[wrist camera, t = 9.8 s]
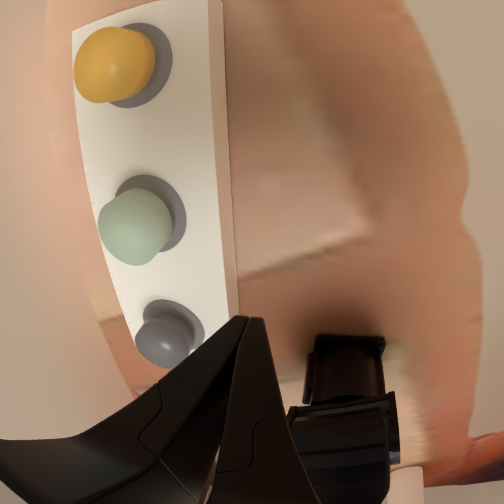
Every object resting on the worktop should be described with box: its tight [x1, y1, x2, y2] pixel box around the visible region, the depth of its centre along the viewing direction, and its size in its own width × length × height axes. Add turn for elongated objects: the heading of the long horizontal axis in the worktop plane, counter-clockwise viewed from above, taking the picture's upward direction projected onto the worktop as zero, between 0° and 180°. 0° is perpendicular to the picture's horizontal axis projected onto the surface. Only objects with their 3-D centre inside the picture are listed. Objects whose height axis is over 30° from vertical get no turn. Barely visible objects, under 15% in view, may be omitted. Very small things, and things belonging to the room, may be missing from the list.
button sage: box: [98, 188, 172, 266], centre depth 18 cm, size 4×4×2 cm
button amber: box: [73, 27, 155, 103], centre depth 13 cm, size 4×4×2 cm
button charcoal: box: [135, 313, 194, 369], centre depth 23 cm, size 4×4×2 cm
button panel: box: [72, 0, 240, 355], centre depth 21 cm, size 10×28×3 cm, turn 2°
